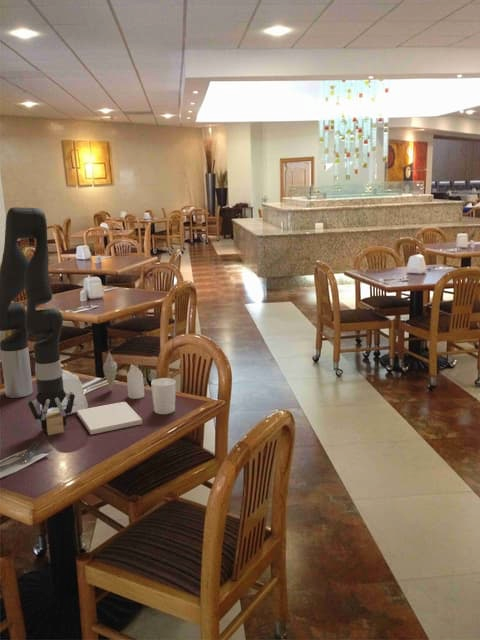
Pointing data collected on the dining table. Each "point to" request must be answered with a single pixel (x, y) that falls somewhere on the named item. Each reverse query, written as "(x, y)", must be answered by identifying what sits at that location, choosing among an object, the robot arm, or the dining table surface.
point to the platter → (108, 417)
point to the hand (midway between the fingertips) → (54, 428)
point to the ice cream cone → (110, 370)
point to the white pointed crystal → (135, 383)
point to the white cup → (163, 395)
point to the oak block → (54, 422)
